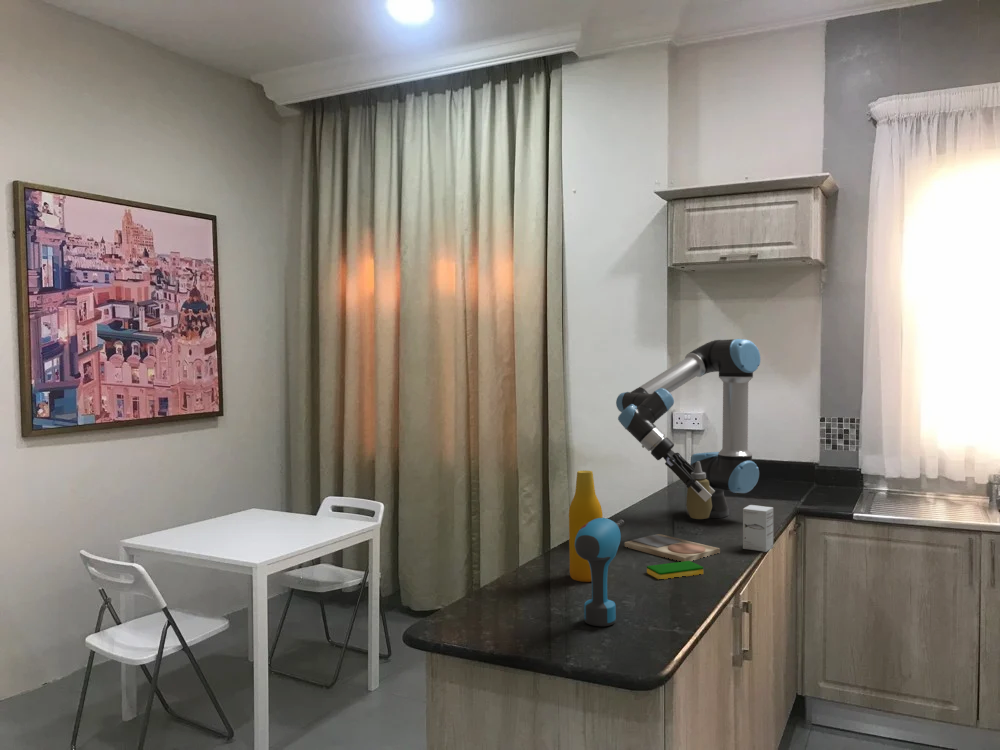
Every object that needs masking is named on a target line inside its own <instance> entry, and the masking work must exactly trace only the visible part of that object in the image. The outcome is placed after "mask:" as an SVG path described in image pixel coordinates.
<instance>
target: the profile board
mask: <svg viewBox="0 0 1000 750" xmlns="http://www.w3.org/2000/svg"><path fill="white" fill-rule="evenodd" d="M627 547H628V549H631V550H634V551H635V550H636V551H639V552H643V553H646V554H650V555H653V556H657V557H662V558H664V557H665V559H668V558H669V560H672V559H673V560H672V561H676V560H677V561H676V562H679V561H681V562H683V561H691V562H693V560H694V561H697V560H700V558H701V559H704V558H703V557H705V558H708V557H711V556H710V555H712V556H715V555H714V554H716V555H718V554H717V553H719V554H720V553H721V549H720V547H715V546H711V545H707V544H702V543H699V542H695V541H694V542H693V541H692V540H691V541H690V540H686V539H683V538H677V537H673V536H669V535H666V534H665V535H664V534H661V533H657V534H651V535H647V536H643V537H639V538H635V539H631V540H628V541H624V548H627ZM707 556H708V557H707Z"/></svg>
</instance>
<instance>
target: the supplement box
mask: <svg viewBox="0 0 1000 750" xmlns="http://www.w3.org/2000/svg"><path fill="white" fill-rule="evenodd" d="M774 509H775V508H774V507H772V506H763V505H757V504H756V505H755V504H749V505H747V506H745V507H744V508H742V549H744V550H751V551H757V552H763V553H767V552H768V551H770V550H771V549H772V548H774Z"/></svg>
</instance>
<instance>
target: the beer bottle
mask: <svg viewBox="0 0 1000 750" xmlns="http://www.w3.org/2000/svg"><path fill="white" fill-rule="evenodd" d="M597 518H604V516H603V510H602V505H601V503H600V501H599V499H598V497H597V494H596V489H595V480H594V473H593V471H592V470H578V471H576V482H575V491H574V495H573V498H572V501H571V502H570V505H569V509H568V532H569V533H568V537H569V538H568V539H569V543H568V544H569V547H568V549H569V576H570V578H571V579H572V580H574V581H577V582H581V583H582V582H583V583H590V582H591V583H592V578H591V569H590V565H589V562H588V560H585V559H583V558H581V557H580V556H579V555H578V554H577V552H576V549H575V539H576V535H577V533H578V531H579V530H580V529H581V527H583V526H584V525H585V524H587V523H588V522H590V521H592V520H594V519H597Z"/></svg>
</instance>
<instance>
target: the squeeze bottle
mask: <svg viewBox="0 0 1000 750" xmlns="http://www.w3.org/2000/svg"><path fill="white" fill-rule="evenodd" d="M691 476H692V477H693V479H695V482H696V481H698V482H699V483H700V484H701V485H702V486H703V487H704V488H705V489H706V490H707V491H708V492H709V493H710V485H709V481H708V480H707V479H705V478H706V473H705V472H702V468H701V464H700V461H696V465H695V470H694V472H692V473H691ZM686 492H687V493H686V502H685V503H686V504H685V506H686V511H687V510H688V512H689V515H688V516H689V517H690V518H692V519H694V520H695V519H696V520H704V519H710V518H709V515H710V512H711V509H712V501H711V497H710V498H709V499H708V500H707V501H706V502H705V501H704V500H703V499H702V498H701V497H700V496H699V495H698V494H697V493H696V492H695V491H694V490H693V489H692V488H691V487H689V488H687V491H686ZM710 494H711V493H710Z"/></svg>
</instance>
